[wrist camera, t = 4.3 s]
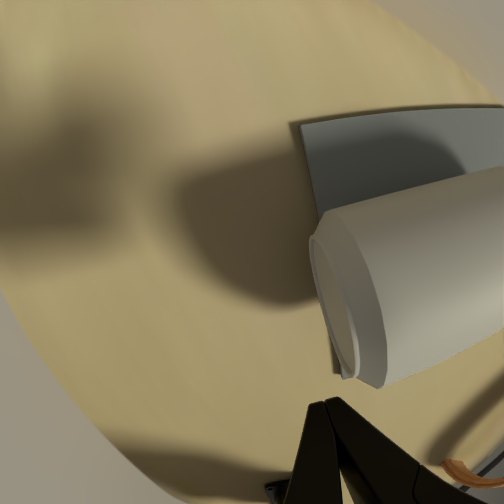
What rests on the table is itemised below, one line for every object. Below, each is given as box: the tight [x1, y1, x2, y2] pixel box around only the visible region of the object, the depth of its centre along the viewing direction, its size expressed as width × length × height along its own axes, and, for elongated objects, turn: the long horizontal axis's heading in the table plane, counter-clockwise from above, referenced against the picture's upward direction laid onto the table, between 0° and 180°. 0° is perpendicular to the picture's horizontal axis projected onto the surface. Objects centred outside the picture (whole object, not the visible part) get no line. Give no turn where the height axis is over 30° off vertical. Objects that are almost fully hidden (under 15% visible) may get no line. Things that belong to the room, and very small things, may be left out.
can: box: [309, 166, 504, 389], centre depth 12 cm, size 8×8×12 cm
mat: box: [299, 108, 504, 380], centre depth 16 cm, size 15×16×1 cm
